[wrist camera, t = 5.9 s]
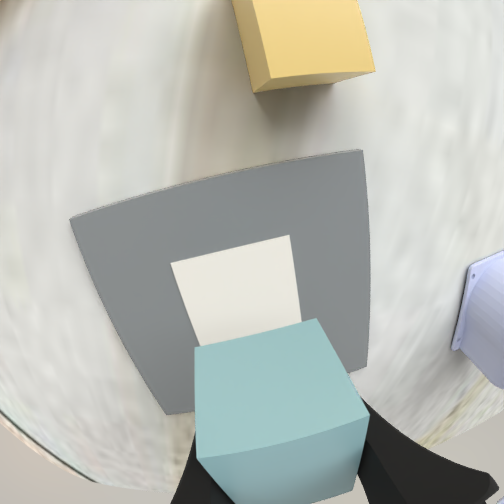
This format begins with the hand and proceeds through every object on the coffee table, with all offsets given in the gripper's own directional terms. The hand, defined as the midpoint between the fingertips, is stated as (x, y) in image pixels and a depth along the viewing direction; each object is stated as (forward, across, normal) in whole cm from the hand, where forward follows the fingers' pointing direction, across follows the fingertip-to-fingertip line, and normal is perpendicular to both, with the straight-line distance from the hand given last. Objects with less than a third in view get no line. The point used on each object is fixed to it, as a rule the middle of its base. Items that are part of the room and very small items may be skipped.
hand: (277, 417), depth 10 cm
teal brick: (+1, 0, 0) cm, 1 cm away
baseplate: (+8, 0, 0) cm, 8 cm away
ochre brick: (+9, -5, -15) cm, 18 cm away
